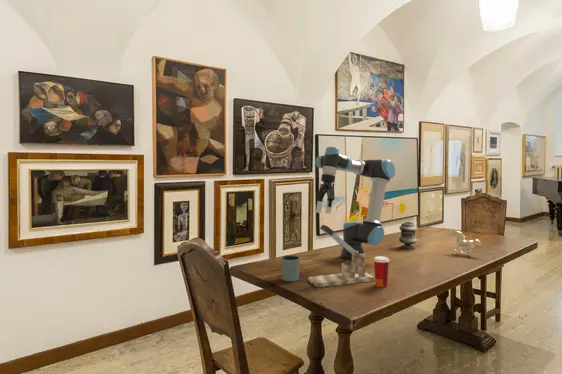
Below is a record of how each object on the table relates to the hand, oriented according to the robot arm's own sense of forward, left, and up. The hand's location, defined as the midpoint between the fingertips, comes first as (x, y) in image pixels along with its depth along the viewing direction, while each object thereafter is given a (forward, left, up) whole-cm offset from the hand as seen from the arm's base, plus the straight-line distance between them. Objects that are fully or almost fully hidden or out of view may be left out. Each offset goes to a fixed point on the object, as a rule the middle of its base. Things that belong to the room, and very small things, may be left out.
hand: (322, 213), depth 218 cm
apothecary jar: (-84, -41, -34) cm, 99 cm away
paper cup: (-19, +28, -34) cm, 48 cm away
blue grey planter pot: (+20, +3, -34) cm, 40 cm away
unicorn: (-105, -9, -34) cm, 111 cm away
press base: (-4, +14, -34) cm, 37 cm away
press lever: (-4, +14, -15) cm, 21 cm away
